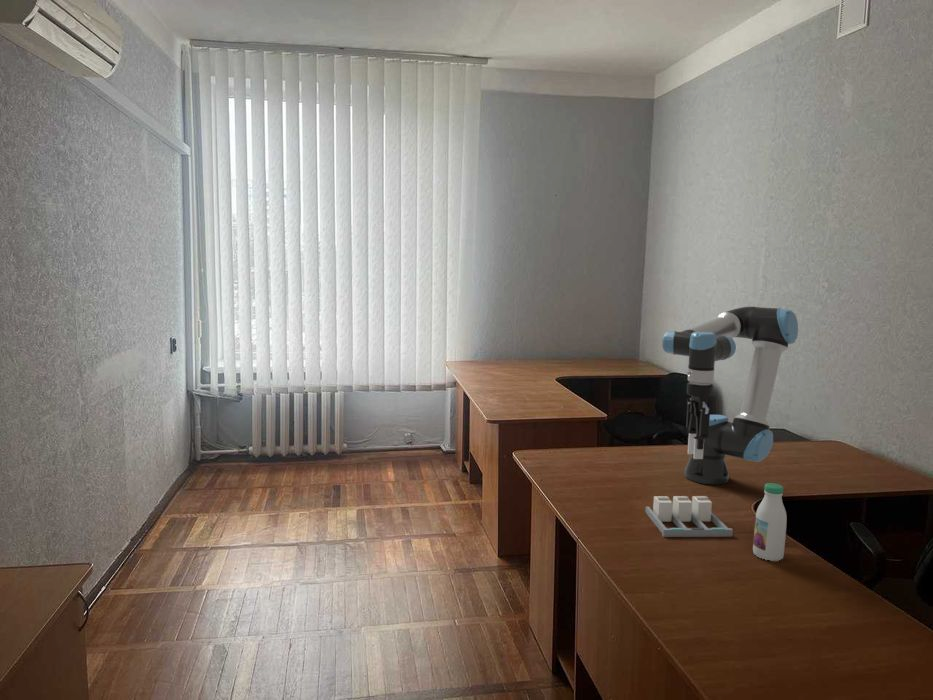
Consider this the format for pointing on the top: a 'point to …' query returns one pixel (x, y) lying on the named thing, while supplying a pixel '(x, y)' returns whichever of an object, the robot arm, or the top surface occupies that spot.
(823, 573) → the top surface
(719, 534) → the switch board
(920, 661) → the top surface
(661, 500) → the white block with handle
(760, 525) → the milk bottle
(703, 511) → the white rectangular block
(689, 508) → the white ridged block
